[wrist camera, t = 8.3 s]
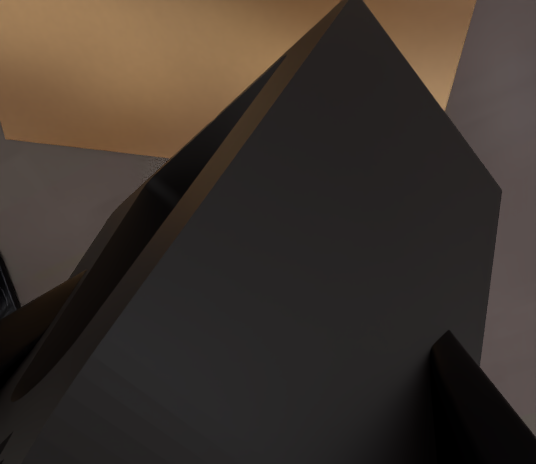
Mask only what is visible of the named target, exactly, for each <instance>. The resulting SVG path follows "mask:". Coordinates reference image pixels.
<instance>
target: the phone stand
mask: <svg viewBox="0 0 536 464" xmlns="http://www.w3.org/2000/svg"><path fill="white" fill-rule="evenodd" d="M501 194H502V190H501V188H500V187H499V185H498V184H497V183H496V181H495V180H494V179H493V177H492V176H491V174H490V173H489V172H488V170H487V169H486V168H485V166H484V165H483V164H482V162H481V161H480V159H479V158H478V157H477V155H476V154H475V153H474V151H473V150H472V148H471V147H470V146H469V144H468V143H467V142H466V140H465V139H464V138H463V136H462V135H461V133H460V132H459V131H458V129H457V128H456V127H455V125H454V124H453V123H452V121H451V120H450V118H449V117H448V116H447V114H446V113H445V112H444V110H443V109H442V108H441V106H440V105H439V103H438V102H437V101H436V99H435V98H434V97H433V95H432V94H431V93H430V91H429V90H428V88H427V87H426V86H425V84H424V83H423V82H422V80H421V79H420V78H419V76H418V75H417V73H416V72H415V71H414V69H413V68H412V67H411V65H410V64H409V63H408V61H407V60H406V58H405V57H404V56H403V54H402V53H401V52H400V50H399V49H398V48H397V46H396V45H395V43H394V42H393V41H392V39H391V38H390V37H389V35H388V34H387V32H386V31H385V30H384V28H383V27H382V26H381V24H380V23H379V22H378V20H377V19H376V17H375V16H374V15H373V13H372V12H371V11H370V9H369V8H368V7H367V5H366V4H365V2H364V1H363V0H342V1H341V2H340V3H338V4H337V5H336V6H335V7H334V8H333V9H332V10H331V11H330V12H329V13H328V14H327V15H325V16H324V17H323V18H322V19H321V20H320V21H319V22H318V23H317V24H316V25H315V26H314V27H312V28H311V29H310V30H309V31H308V32H307V33H306V34H305V35H304V36H303V37H302V38H301V39H299V40H298V41H297V42H296V43H295V44H294V45H293V46H292V47H291V48H290V49H289V50H287V51H286V52H285V53H284V54H283V55H282V56H281V57H280V58H279V59H278V60H277V61H276V62H274V63H273V64H272V65H271V66H270V67H269V68H268V69H267V70H266V71H265V72H264V73H263V74H261V75H260V76H259V77H258V78H257V79H256V80H255V81H254V82H253V83H252V84H251V85H250V86H248V87H247V88H246V89H245V90H244V91H243V92H242V93H241V94H240V95H239V96H238V97H237V98H235V99H234V100H233V101H232V102H231V103H230V104H229V105H228V106H227V107H226V108H225V109H224V110H222V111H221V112H220V113H219V115H218V116H217V117H216V118H215V119H214V120H213V121H211V122H209V123H208V124H207V125H206V126H205V127H204V128H203V129H202V130H201V131H200V132H199V133H198V134H196V135H195V136H194V137H193V138H192V139H191V140H190V141H189V142H188V143H187V144H186V145H184V146H183V147H182V148H181V149H180V150H179V151H178V152H177V153H176V154H175V155H174V156H173V157H171V158H170V159H169V160H168V161H167V162H166V163H165V164H164V165H163V166H162V167H161V168H160V169H158V170H157V171H156V172H155V173H154V174H153V175H152V176H151V177H150V178H149V179H148V180H147V181H145V182H144V183H143V184H142V185H141V186H140V187H139V188H138V189H137V190H136V191H135V192H134V193H132V194H131V195H130V196H129V197H128V198H127V199H126V200H125V201H124V202H123V203H122V204H121V205H120V206H119V207H118V208H117V209H116V210H115V211H114V212H113V213H112V214H111V216H110V217H109V219H108V220H107V222H106V223H105V225H104V226H103V228H102V229H101V231H100V232H99V234H98V235H97V237H96V238H95V240H94V241H93V243H92V244H91V246H90V247H89V249H88V250H87V252H86V253H85V255H84V256H83V258H82V259H81V261H80V262H79V264H78V265H77V267H76V268H75V270H74V271H73V273H72V274H71V276H70V278H69V279H71V278H72V277H74V276H76V275H78V274H79V273H81V272H83V271H84V270H86V269H87V270H86V272H85V273H84V275H83V276H82V278H81V279H80V281H79V282H78V284H77V285H76V287H75V288H74V290H73V291H72V293H71V294H70V296H69V297H68V299H67V300H66V302H65V303H64V305H63V306H62V308H61V309H60V311H59V312H58V314H57V315H56V317H55V318H54V320H53V321H52V323H51V324H50V326H49V327H48V329H47V330H46V331H45V333H44V334H43V336H42V337H41V338H40V340H39V341H38V342H37V344H36V345H35V346H34V348H33V349H32V350H31V351H30V353H29V354H28V355H27V357H26V358H25V359H24V360H23V362H22V363H21V364H20V365H19V367H18V368H17V369H16V370H15V372H14V373H13V374H12V376H11V377H10V378H9V379H8V381H7V382H6V383H5V384H4V386H3V387H2V388H1V389H0V464H437V454H436V443H435V432H434V421H433V409H432V398H431V385H430V350H431V347H432V346H433V344H434V343H435V342H436V341H437V340H438V339H439V338H440V337H441V336H442V335H443V334H445V333H446V332H447V331H448V330H450V331H451V332H452V333H453V334H454V336H455V337H456V338H457V339H458V341H459V342H460V343H461V344H462V346H463V347H464V348H465V349H466V351H467V352H468V353H469V354H470V356H471V357H472V358H473V359H474V361H475V362H476V363H477V364H478V366H479V367H480V360H481V352H482V344H483V336H484V328H485V320H486V313H487V305H488V297H489V289H490V281H491V273H492V265H493V257H494V250H495V242H496V234H497V226H498V218H499V210H500V202H501ZM69 279H68V280H69Z"/></svg>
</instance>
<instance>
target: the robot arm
mask: <svg viewBox="0 0 536 464" xmlns="http://www.w3.org/2000/svg"><path fill="white" fill-rule="evenodd" d="M86 270H87V269H86ZM86 270H84V271H83V272H81V273H79V274H78V275H76V276H74V277H72V278H71V279H69V280H67V281H65V282H64V283H62V284H60V285H59V286H57V287H55V288H53V289H52V290H50V291H48V292H47V293H45V294H43V295H41V296H40V297H38V298H36V299H35V300H33V301H31V302H29V303H28V304H26V305H24V306H22V307H21V308H20V305H19V303H18V300H17V297H16V295H15V292H14V289H13V286H12V284H11V281H10V278H9V275H8V273H7V270H6V267H5V265H4V262H3V260H2V258H1V257H0V389H1V388H2V387H3V386H4V384H5V383H6V382H7V381H8V379H9V378H10V377H11V376H12V374H13V373H14V372H15V370H16V369H17V368H18V367H19V365H20V364H21V363H22V362H23V360H24V359H25V358H26V357H27V355H28V354H29V353H30V351H31V350H32V349H33V348H34V346H35V345H36V344H37V342H38V341H39V340H40V338H41V337H42V336H43V334H44V333H45V331H46V330H47V329H48V327H49V326H50V324H51V323H52V321H53V320H54V318H55V317H56V315H57V314H58V312H59V311H60V309H61V308H62V306H63V305H64V303H65V302H66V300H67V299H68V297H69V296H70V294H71V293H72V291H73V290H74V288H75V287H76V285H77V284H78V282H79V281H80V279H81V278H82V276H83V275H84V273H85V272H86ZM430 385H431V398H432V409H433V421H434V432H435V443H436V454H437V464H536V437H535V436H534V434H533V433H532V432H531V431H530V429H529V428H528V427H527V426H526V424H525V423H524V422H523V421H522V419H521V418H520V417H519V416H518V414H517V413H516V412H515V411H514V409H513V408H512V407H511V406H510V404H509V403H508V402H507V401H506V399H505V398H504V397H503V396H502V394H501V393H500V392H499V391H498V389H497V388H496V387H495V386H494V384H493V383H492V382H491V381H490V379H489V378H488V377H487V376H486V374H485V373H484V372H483V371H482V369H481V368H480V367H479V366H478V364H477V363H476V362H475V361H474V359H473V358H472V357H471V356H470V354H469V353H468V352H467V351H466V349H465V348H464V347H463V346H462V344H461V343H460V342H459V341H458V339H457V338H456V337H455V336H454V334H453V333H452V332H451V331H450V330H448V331H447V332H446V333H445V334H443V335H442V336H441V337H440V338H439V339H438V340H437V341H436V342H435V343H434V344H433V346H432V347H431V350H430Z"/></svg>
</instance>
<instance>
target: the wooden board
mask: <svg viewBox="0 0 536 464" xmlns="http://www.w3.org/2000/svg"><path fill="white" fill-rule="evenodd" d="M341 1H342V0H0V122H1V126H2V129H3V132H4V135H5V138H6V139H10V140H19V141H27V142H36V143H44V144H53V145H61V146H70V147H79V148H87V149H96V150H104V151H113V152H121V153H130V154H139V155H147V156H156V157H164V158H171V157H173V156H174V155H175V154H176V153H177V152H178V151H179V150H180V149H181V148H182V147H183V146H184V145H186V144H187V143H188V142H189V141H190V140H191V139H192V138H193V137H194V136H195V135H196V134H198V133H199V132H200V131H201V130H202V129H203V128H204V127H205V126H206V125H207V124H208V123H209V122H211V121H213V120H214V119H215V118H216V117H217V116H218V115H219V113H220V112H221V111H222V110H224V109H225V108H226V107H227V106H228V105H229V104H230V103H231V102H232V101H233V100H234V99H235V98H237V97H238V96H239V95H240V94H241V93H242V92H243V91H244V90H245V89H246V88H247V87H248V86H250V85H251V84H252V83H253V82H254V81H255V80H256V79H257V78H258V77H259V76H260V75H261V74H263V73H264V72H265V71H266V70H267V69H268V68H269V67H270V66H271V65H272V64H273V63H274V62H276V61H277V60H278V59H279V58H280V57H281V56H282V55H283V54H284V53H285V52H286V51H287V50H289V49H290V48H291V47H292V46H293V45H294V44H295V43H296V42H297V41H298V40H299V39H301V38H302V37H303V36H304V35H305V34H306V33H307V32H308V31H309V30H310V29H311V28H312V27H314V26H315V25H316V24H317V23H318V22H319V21H320V20H321V19H322V18H323V17H324V16H325V15H327V14H328V13H329V12H330V11H331V10H332V9H333V8H334V7H335V6H336V5H337V4H338V3H340V2H341ZM363 1H364V2H365V4H366V5H367V7H368V8H369V9H370V11H371V12H372V13H373V15H374V16H375V17H376V19H377V20H378V22H379V23H380V24H381V26H382V27H383V28H384V30H385V31H386V32H387V34H388V35H389V37H390V38H391V39H392V41H393V42H394V43H395V45H396V46H397V48H398V49H399V50H400V52H401V53H402V54H403V56H404V57H405V58H406V60H407V61H408V63H409V64H410V65H411V67H412V68H413V69H414V71H415V72H416V73H417V75H418V76H419V78H420V79H421V80H422V82H423V83H424V84H425V86H426V87H427V88H428V90H429V91H430V93H431V94H432V95H433V97H434V98H435V99H436V101H437V102H438V103H439V105H440V106H441V108H442V109H443V110H444V112H445V109H446V105H447V102H448V98H449V95H450V91H451V88H452V84H453V81H454V77H455V74H456V70H457V67H458V63H459V60H460V56H461V53H462V49H463V46H464V42H465V38H466V35H467V31H468V28H469V24H470V21H471V17H472V14H473V10H474V7H475V3H476V0H363Z"/></svg>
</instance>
